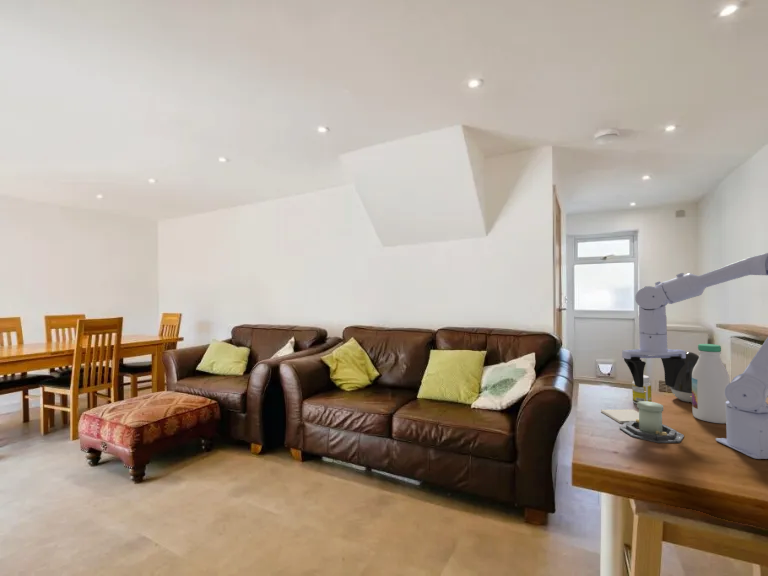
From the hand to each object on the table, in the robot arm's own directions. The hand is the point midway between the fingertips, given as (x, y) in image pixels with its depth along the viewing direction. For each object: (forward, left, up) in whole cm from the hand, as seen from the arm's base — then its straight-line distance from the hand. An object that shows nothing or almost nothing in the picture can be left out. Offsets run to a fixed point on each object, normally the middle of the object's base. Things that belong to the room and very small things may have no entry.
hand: (654, 386), depth 93 cm
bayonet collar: (-4, +4, -10) cm, 12 cm away
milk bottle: (+5, -18, -11) cm, 22 cm away
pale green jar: (-4, +4, -10) cm, 12 cm away
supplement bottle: (+19, -9, -11) cm, 24 cm away
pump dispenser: (+21, -25, -11) cm, 35 cm away
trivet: (+7, +3, -10) cm, 13 cm away
